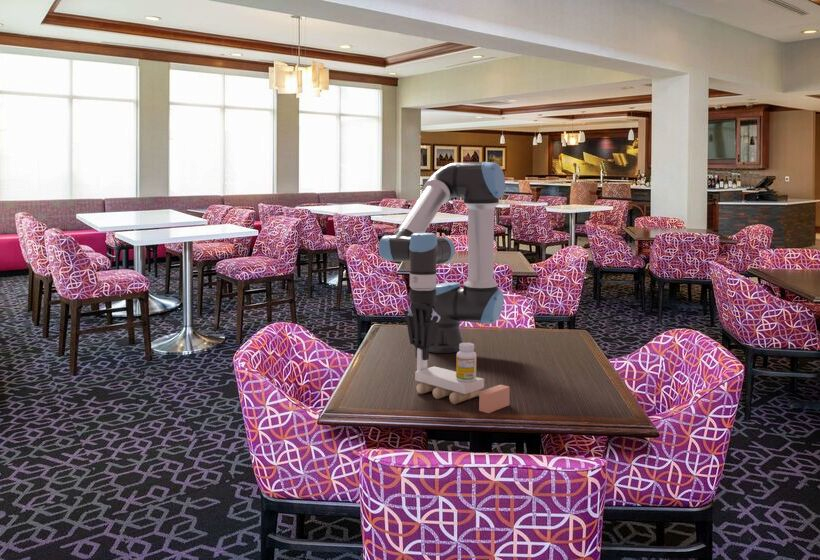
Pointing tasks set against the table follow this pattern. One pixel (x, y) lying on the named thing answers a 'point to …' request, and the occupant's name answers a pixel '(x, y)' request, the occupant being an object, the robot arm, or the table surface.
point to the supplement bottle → (466, 363)
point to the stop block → (494, 398)
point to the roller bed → (446, 393)
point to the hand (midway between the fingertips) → (422, 370)
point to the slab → (447, 380)
